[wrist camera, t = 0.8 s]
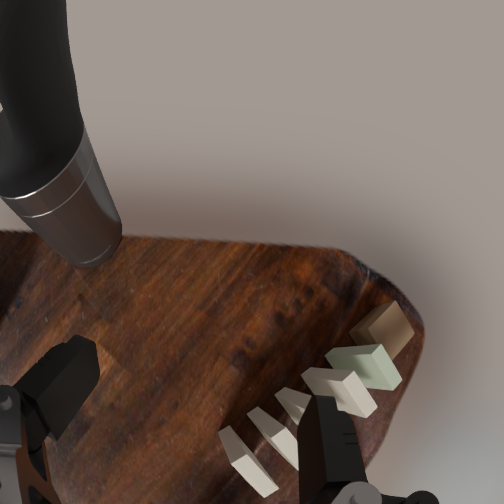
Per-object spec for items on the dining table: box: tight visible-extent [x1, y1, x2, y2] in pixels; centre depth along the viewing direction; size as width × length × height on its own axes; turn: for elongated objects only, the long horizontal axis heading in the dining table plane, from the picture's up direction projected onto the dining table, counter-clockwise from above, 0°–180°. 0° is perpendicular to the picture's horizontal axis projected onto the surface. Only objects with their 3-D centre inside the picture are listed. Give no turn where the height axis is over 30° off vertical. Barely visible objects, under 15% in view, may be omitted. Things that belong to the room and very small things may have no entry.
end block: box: [348, 300, 415, 361], centre depth 33 cm, size 6×6×4 cm
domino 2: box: [247, 407, 299, 471], centre depth 24 cm, size 5×2×10 cm, turn 34°
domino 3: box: [275, 387, 312, 425], centre depth 25 cm, size 5×2×10 cm, turn 34°
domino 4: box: [325, 344, 402, 390], centre depth 28 cm, size 5×2×10 cm, turn 34°
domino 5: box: [301, 367, 377, 418], centre depth 27 cm, size 5×2×10 cm, turn 34°
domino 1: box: [218, 425, 279, 498], centre depth 22 cm, size 5×2×10 cm, turn 34°
